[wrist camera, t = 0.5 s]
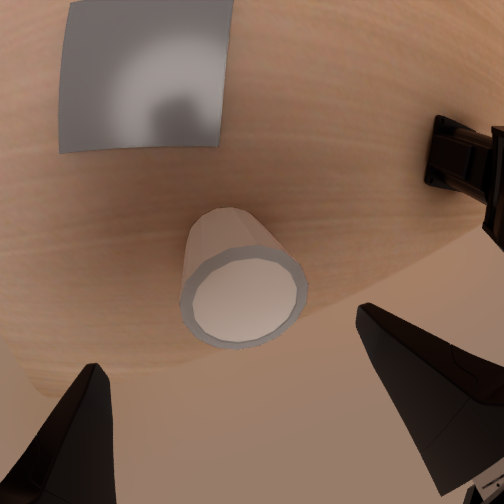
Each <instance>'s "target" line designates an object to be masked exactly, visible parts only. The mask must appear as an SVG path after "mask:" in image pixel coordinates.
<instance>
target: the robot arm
mask: <svg viewBox="0 0 504 504" xmlns="http://www.w3.org/2000/svg"><path fill="white" fill-rule="evenodd" d="M491 133H492V137H489V136H486V135H483V134H480V133H477V132H476V131H474V130H472V129H470V128H468V127H466V126H464V125H462V124H460V123H458V122H456V121H454V120H451V119H449V118H447V117H445V116H442V115H438V116H437V117H436V122H435V128H434V135H433V140H432V146H431V151H430V157H429V162H428V166H427V171H426V176H425V183H426V184H427V185H429V186H433V187H438V188H444V189H449V190H454V191H459V192H462V193H464V194H466V195H468V196H470V197H472V198H474V199H476V200H478V201H480V202H481V203H483V204H485V205H487V206H486V213H485V219H484V222H483V225H482V229H483V230H484V231H485V232H486V233H487V234H488V235H489V236H490V237H491V239H493V241H494V242H495V243H496V244H497V245H498V246H499V248H500V249H501V250H502V251H503V252H504V126H491ZM429 180H430V181H429ZM356 328H357V331H358V333H359V335H360V338H361V340H362V342H363V344H364V346H365V349H366V351H367V354H368V356H369V359H370V361H371V363H372V365H373V367H374V369H375V370H376V372H377V374H378V376H379V377H380V379H381V381H382V383H383V385H384V386H385V388H386V390H387V392H388V394H389V396H390V397H391V399H392V401H393V403H394V405H395V407H396V408H397V410H398V412H399V414H400V416H401V418H402V420H403V422H404V423H405V425H406V427H407V429H408V431H409V433H410V435H411V437H412V439H413V441H414V443H415V445H416V447H417V449H418V451H419V452H420V454H421V456H422V459H423V461H424V463H425V465H426V467H427V469H428V471H429V473H430V475H431V477H432V479H433V481H434V483H435V485H436V487H437V490H438V492H439V494H440V495H441V497H442V496H444V495H445V494H447V493H449V492H451V491H452V490H455V489H456V488H458V487H460V486H461V485H463V484H465V483H466V482H468V481H470V480H471V479H472V480H473V482H474V484H473V485H472V486H471V487H470V488H468V489H467V493H466V496H465V499H464V502H463V504H504V367H502V366H500V365H497V364H495V363H492V362H490V361H487V360H484V359H482V358H480V357H477V356H475V355H472V354H470V353H468V352H466V351H464V350H462V349H460V348H458V347H456V346H454V345H452V344H451V345H450V343H448V342H446V341H444V340H442V339H440V338H438V337H437V336H434V335H433V334H431V333H429V332H426V331H425V330H423V329H421V328H419V327H417V326H415V325H413V324H411V323H409V322H407V321H405V320H403V319H401V318H399V317H397V316H395V315H393V314H392V313H390V312H387V311H386V310H384V309H382V308H380V307H378V306H376V305H374V304H372V303H365V304H362V305H359V306H358V309H357V316H356ZM0 504H117V503H116V493H115V479H114V460H113V416H112V405H111V392H110V381H109V378H108V376H107V375H106V373H105V372H104V371H103V369H102V368H101V367H100V365H99V364H98V363H90V364H87V365H86V366H85V367H84V368H83V370H82V371H81V372H80V374H79V375H78V376H77V378H76V379H75V380H74V382H73V383H72V384H71V386H70V387H69V388H68V390H67V391H66V393H65V394H64V395H63V397H62V398H61V400H60V401H59V402H58V404H57V405H56V407H55V408H54V409H53V411H52V412H51V414H50V415H49V417H48V418H47V420H46V421H45V423H44V424H43V425H42V427H41V428H40V430H39V431H38V433H37V435H36V436H35V438H34V439H33V440H32V442H31V443H30V445H29V446H28V448H27V449H26V451H25V452H24V453H23V455H22V456H21V457H20V459H19V460H18V461H17V462H16V464H15V465H14V466H13V468H12V469H11V470H10V471H9V473H8V474H7V475H6V477H5V478H4V479H3V480H2V481H1V483H0Z"/></svg>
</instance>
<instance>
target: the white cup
mask: <svg viewBox="0 0 504 504" xmlns="http://www.w3.org/2000/svg"><path fill="white" fill-rule="evenodd" d="M307 290H308V282H307V280H306V277H305V275H304V272H303V270H302V267H301V265H300V264H299V263H298V262H297V261H296V260H295V259H294V258H293V256H292V255H291V254H290V253H289V252H288V251H287V250H286V249H285V248H284V247H283V246H282V245H281V244H280V243H279V242H278V241H277V240H276V239H275V238H274V236H273V235H272V234H271V233H270V232H269V231H268V230H267V229H266V228H265V227H264V226H263V225H262V224H261V223H260V222H259V221H258V220H257V219H256V218H255V217H253V216H252V215H251V214H250V213H249V212H247V211H245V210H241V209H238V208H234V207H225V208H216V209H214V210H212V211H210V212H208V213H206V214H204V215H202V216H201V217H200V218H199V219H198V220H197V221H196V223H195V224H194V225H193V226H192V227H191V229H190V232H189V235H188V239H187V242H186V249H185V257H184V265H183V273H182V282H181V291H180V301H179V305H180V309H181V314H182V318H183V323H184V324H185V325H186V327H187V328H188V329H189V330H190V331H191V332H192V334H193V335H194V336H195V337H196V338H197V339H199V340H201V341H203V342H205V343H207V344H209V345H212V346H214V347H217V348H226V349H236V350H238V349H244V348H250V347H255V346H260V345H262V344H264V343H266V342H268V341H270V340H272V339H275V338H277V337H279V336H280V335H281V334H282V333H284V332H285V331H286V330H287V329H288V328H289V327H290V326H291V325H293V324H294V323H295V322H296V320H297V319H298V317H299V315H300V313H301V312H302V310H303V308H304V306H305V304H306V299H307Z"/></svg>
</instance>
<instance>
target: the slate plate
mask: <svg viewBox="0 0 504 504" xmlns="http://www.w3.org/2000/svg"><path fill="white" fill-rule="evenodd" d="M232 7H233V0H82V1H77V2H72V3H70V8H69V13H68V18H67V24H66V30H65V36H64V43H63V51H62V60H61V71H60V85H59V117H58V123H59V154H62V153H71V152H80V151H91V150H103V149H117V148H135V147H167V146H205V147H219V141H220V127H221V114H222V102H223V91H224V80H225V70H226V60H227V50H228V41H229V32H230V23H231V15H232Z"/></svg>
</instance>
